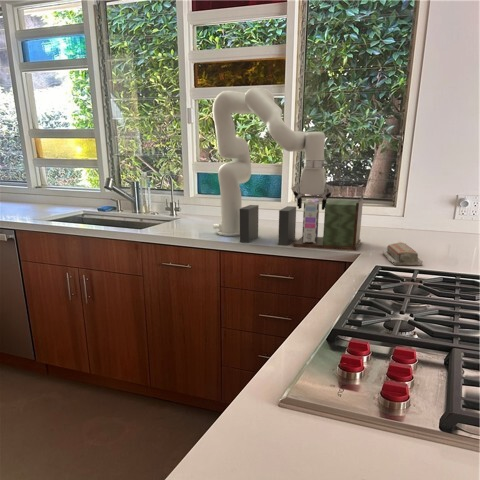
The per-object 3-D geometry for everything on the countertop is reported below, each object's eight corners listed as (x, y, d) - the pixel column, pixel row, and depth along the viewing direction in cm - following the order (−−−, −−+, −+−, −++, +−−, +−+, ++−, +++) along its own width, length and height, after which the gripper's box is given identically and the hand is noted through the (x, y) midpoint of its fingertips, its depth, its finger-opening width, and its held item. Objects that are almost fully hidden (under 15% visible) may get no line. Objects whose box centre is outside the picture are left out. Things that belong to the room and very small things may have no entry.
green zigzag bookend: (293, 246, 189) (295, 200, 183) (302, 238, 204) (304, 196, 198) (356, 250, 182) (360, 203, 175) (360, 242, 197) (364, 198, 190)
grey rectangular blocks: (239, 242, 198) (239, 208, 193) (249, 236, 210) (249, 204, 205) (287, 245, 192) (288, 210, 187) (295, 238, 204) (296, 206, 199)
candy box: (316, 243, 188) (318, 202, 182) (301, 243, 189) (303, 202, 183) (317, 237, 201) (320, 198, 195) (304, 237, 202) (306, 198, 196)
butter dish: (424, 252, 157) (394, 252, 157) (422, 266, 158) (393, 265, 159) (410, 241, 173) (383, 241, 174) (408, 254, 175) (381, 253, 176)
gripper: (337, 165, 185) (333, 208, 191) (294, 164, 190) (292, 206, 196) (334, 165, 178) (331, 211, 184) (290, 165, 183) (288, 209, 190)
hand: (311, 208), depth 190 cm, fingers open, 9 cm apart
